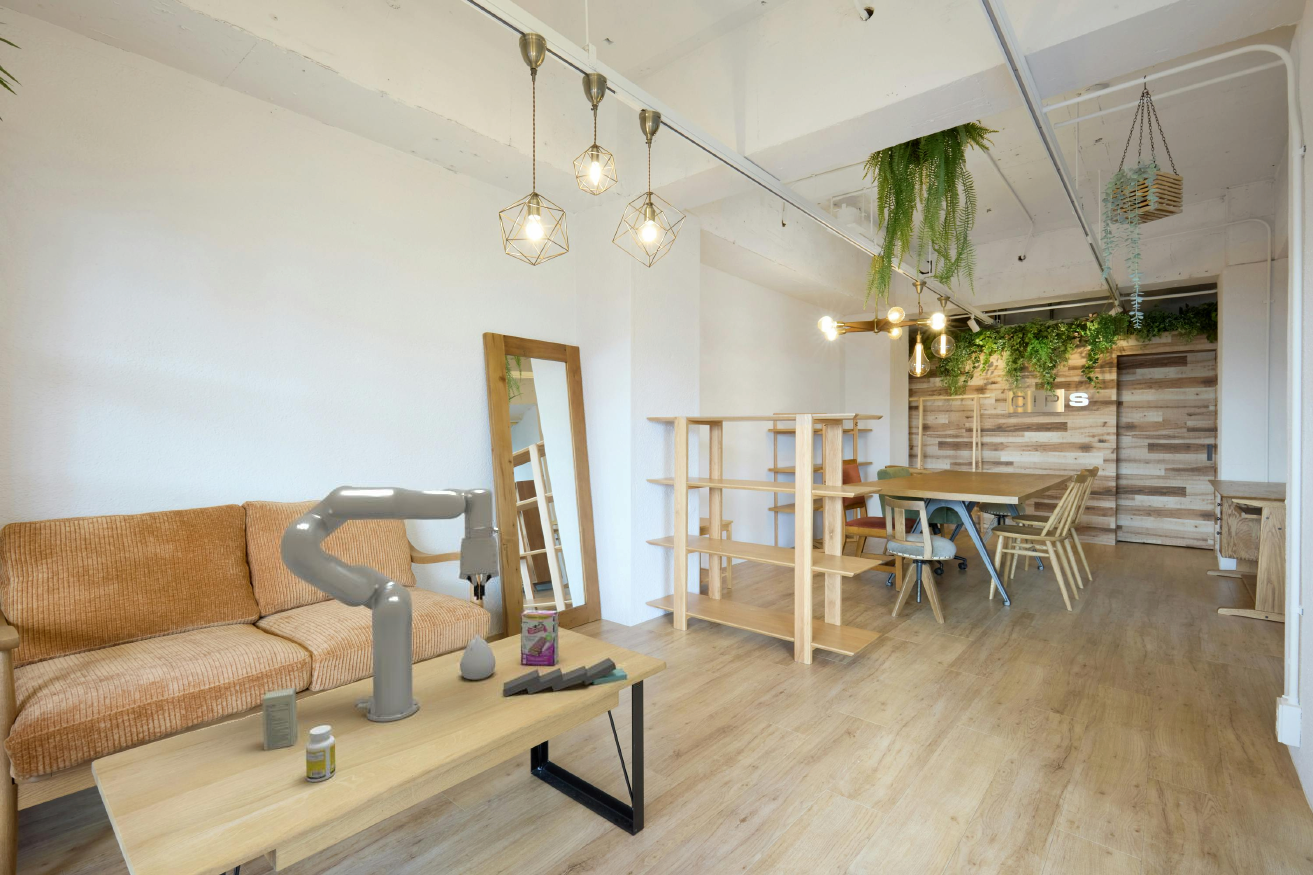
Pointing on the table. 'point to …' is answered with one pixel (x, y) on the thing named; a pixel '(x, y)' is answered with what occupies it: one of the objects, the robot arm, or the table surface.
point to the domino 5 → (611, 677)
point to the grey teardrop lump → (477, 660)
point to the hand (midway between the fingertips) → (479, 598)
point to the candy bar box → (539, 637)
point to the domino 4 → (599, 670)
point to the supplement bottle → (320, 754)
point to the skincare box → (279, 718)
